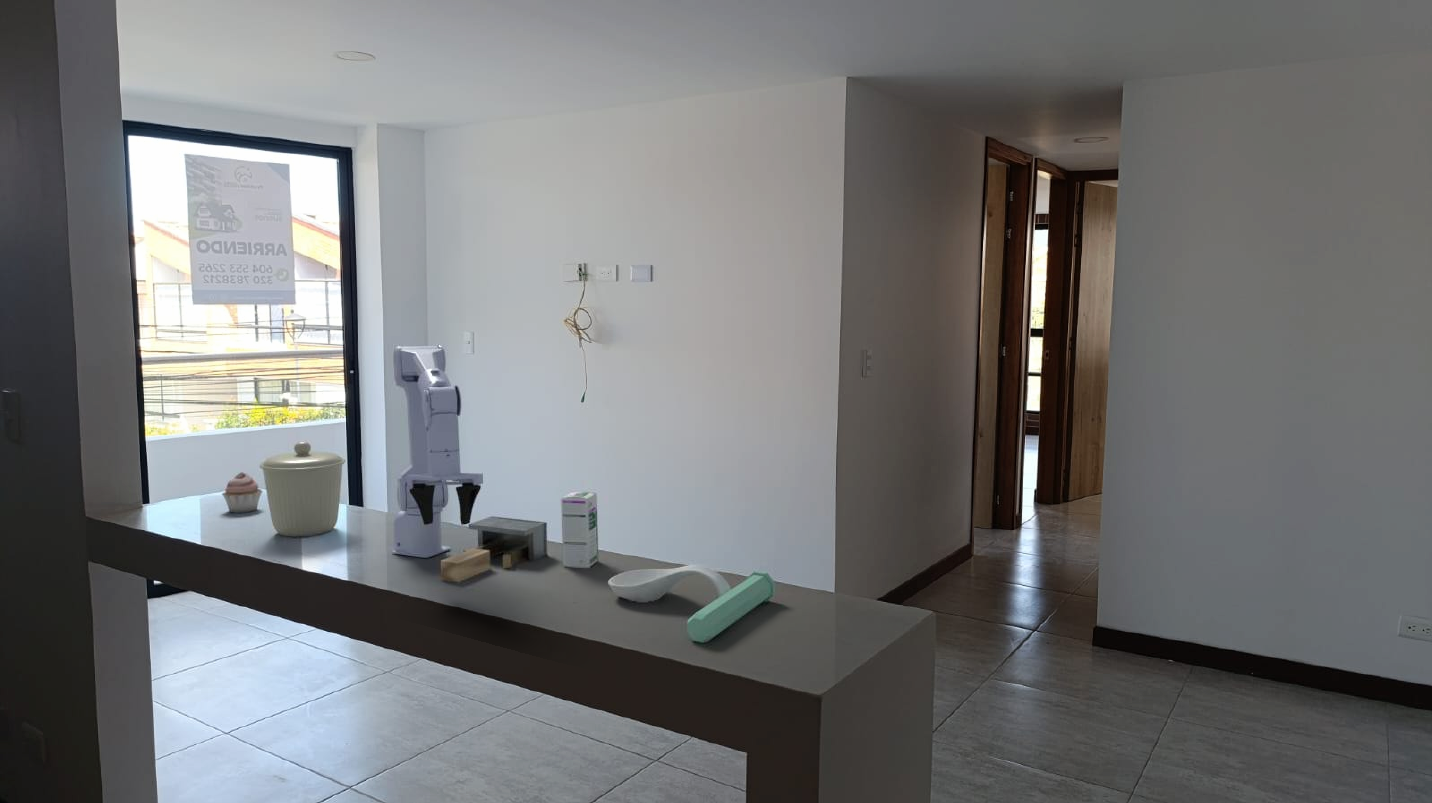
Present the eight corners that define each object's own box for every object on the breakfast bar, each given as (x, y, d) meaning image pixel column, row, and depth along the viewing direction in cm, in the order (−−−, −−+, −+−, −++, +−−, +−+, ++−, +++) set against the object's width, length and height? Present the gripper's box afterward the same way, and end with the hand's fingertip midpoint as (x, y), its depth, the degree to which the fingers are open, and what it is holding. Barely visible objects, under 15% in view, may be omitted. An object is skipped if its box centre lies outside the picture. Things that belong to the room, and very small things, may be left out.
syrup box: (589, 568, 190) (588, 497, 188) (561, 566, 191) (560, 496, 190) (598, 561, 195) (598, 492, 194) (571, 559, 197) (570, 490, 195)
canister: (356, 534, 216) (353, 443, 214) (270, 545, 206) (265, 450, 204) (337, 519, 231) (334, 434, 229) (256, 529, 221) (252, 440, 219)
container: (705, 609, 147) (769, 566, 169) (674, 617, 150) (741, 574, 172) (717, 645, 147) (780, 598, 169) (687, 653, 150) (752, 605, 172)
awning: (456, 561, 194) (455, 528, 194) (492, 547, 205) (492, 516, 205) (513, 569, 189) (512, 535, 188) (547, 554, 200) (546, 522, 199)
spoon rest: (596, 602, 169) (596, 563, 169) (628, 585, 180) (628, 548, 179) (716, 621, 160) (717, 580, 159) (743, 601, 170) (743, 563, 170)
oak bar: (441, 581, 182) (440, 560, 181) (473, 567, 191) (473, 548, 191) (458, 583, 180) (457, 563, 180) (490, 570, 189) (489, 550, 189)
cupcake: (221, 516, 234) (218, 476, 233) (224, 508, 243) (222, 470, 242) (262, 512, 238) (260, 473, 237) (264, 505, 247) (262, 467, 246)
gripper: (396, 453, 173) (400, 527, 174) (468, 451, 170) (472, 527, 170) (417, 450, 180) (420, 521, 180) (487, 448, 177) (490, 521, 177)
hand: (446, 523), depth 176 cm, fingers open, 7 cm apart
